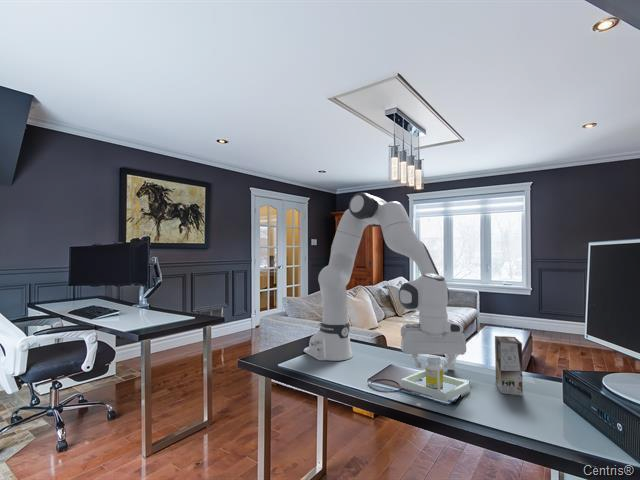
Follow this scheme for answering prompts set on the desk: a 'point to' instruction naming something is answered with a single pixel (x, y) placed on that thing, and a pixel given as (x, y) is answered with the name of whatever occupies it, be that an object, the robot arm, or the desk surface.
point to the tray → (461, 389)
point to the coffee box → (508, 365)
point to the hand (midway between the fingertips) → (432, 367)
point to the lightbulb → (452, 362)
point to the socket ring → (380, 389)
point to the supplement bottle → (434, 373)
